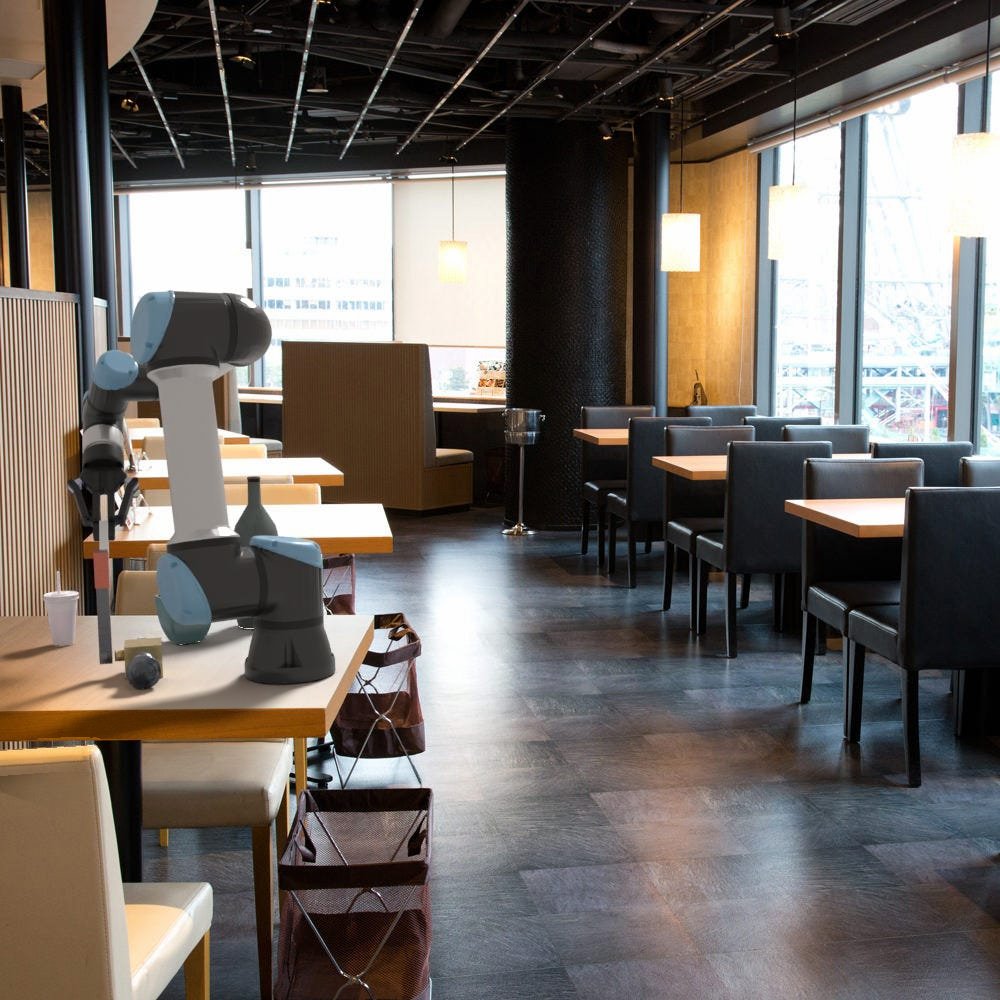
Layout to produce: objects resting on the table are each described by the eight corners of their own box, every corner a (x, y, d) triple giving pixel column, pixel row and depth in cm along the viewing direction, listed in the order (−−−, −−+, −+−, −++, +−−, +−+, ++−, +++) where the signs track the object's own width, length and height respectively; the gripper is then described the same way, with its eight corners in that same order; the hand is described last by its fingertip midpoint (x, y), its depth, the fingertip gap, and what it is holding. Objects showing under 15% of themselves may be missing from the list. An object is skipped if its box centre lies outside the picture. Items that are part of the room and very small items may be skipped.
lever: (99, 662, 202) (93, 549, 200) (113, 661, 202) (108, 549, 200) (98, 666, 200) (93, 552, 197) (113, 664, 200) (107, 551, 198)
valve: (116, 670, 205) (114, 639, 205) (162, 667, 208) (161, 636, 207) (114, 691, 192) (112, 658, 191) (163, 687, 194) (162, 654, 194)
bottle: (227, 625, 241) (221, 477, 238) (267, 619, 247) (262, 474, 244) (249, 633, 234) (244, 480, 231) (290, 626, 240) (285, 476, 237)
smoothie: (38, 646, 224) (34, 573, 223) (61, 639, 230) (57, 567, 229) (66, 649, 222) (62, 574, 221) (88, 641, 228) (85, 568, 227)
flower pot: (170, 649, 221) (168, 601, 220) (155, 640, 228) (153, 594, 227) (216, 643, 226) (214, 596, 225) (200, 634, 233) (198, 589, 232)
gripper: (139, 466, 234) (142, 563, 220) (68, 468, 230) (67, 568, 216) (138, 440, 228) (141, 539, 214) (65, 442, 224) (63, 542, 210)
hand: (104, 553), depth 215 cm, fingers closed
